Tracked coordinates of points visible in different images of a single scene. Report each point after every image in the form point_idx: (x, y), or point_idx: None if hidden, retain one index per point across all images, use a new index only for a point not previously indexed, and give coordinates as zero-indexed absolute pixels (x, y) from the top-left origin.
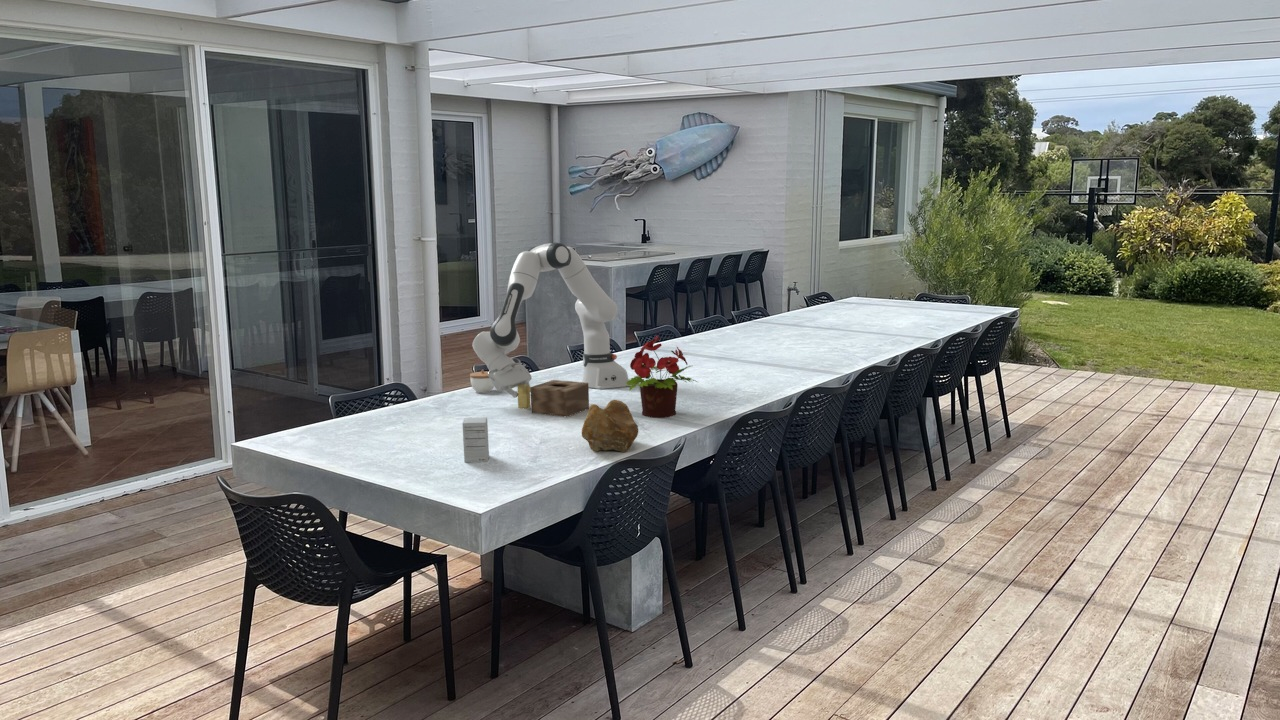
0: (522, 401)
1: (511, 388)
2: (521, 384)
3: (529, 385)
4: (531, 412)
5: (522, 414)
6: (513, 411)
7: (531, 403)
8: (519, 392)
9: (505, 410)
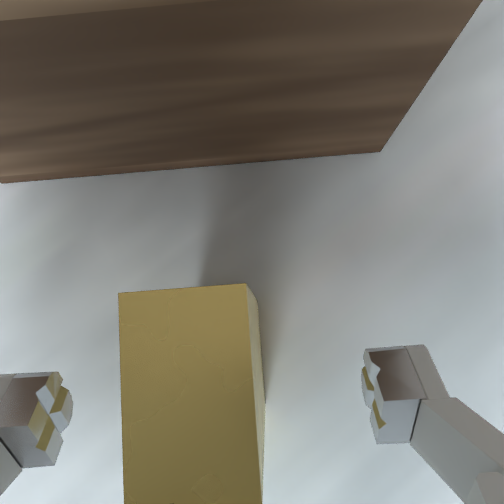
0: (259, 356)
1: (478, 478)
2: (146, 484)
3: (127, 293)
4: (381, 147)
5: (463, 189)
6: None
7: (407, 102)
8: (260, 420)
9: (417, 454)
